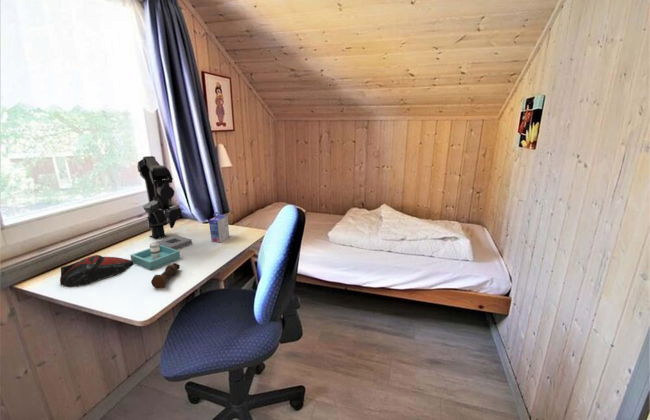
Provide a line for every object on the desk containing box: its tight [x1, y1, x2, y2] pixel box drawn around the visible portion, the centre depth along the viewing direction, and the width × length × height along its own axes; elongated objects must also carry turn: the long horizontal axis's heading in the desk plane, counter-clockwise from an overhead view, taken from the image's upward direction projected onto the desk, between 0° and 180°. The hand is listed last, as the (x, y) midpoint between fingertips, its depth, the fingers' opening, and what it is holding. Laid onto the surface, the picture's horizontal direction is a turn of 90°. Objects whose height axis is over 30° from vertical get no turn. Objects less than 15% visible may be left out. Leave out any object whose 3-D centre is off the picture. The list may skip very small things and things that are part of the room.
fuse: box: [148, 241, 161, 260], centre depth 139 cm, size 4×4×7 cm
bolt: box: [150, 262, 181, 290], centre depth 124 cm, size 6×5×15 cm
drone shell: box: [59, 254, 134, 288], centre depth 126 cm, size 21×20×8 cm
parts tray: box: [129, 245, 182, 271], centre depth 139 cm, size 14×14×4 cm
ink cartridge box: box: [208, 211, 230, 244], centre depth 164 cm, size 10×6×14 cm, turn 167°
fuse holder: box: [156, 234, 193, 250], centre depth 156 cm, size 12×12×2 cm
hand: (165, 225), depth 149 cm, fingers open, 9 cm apart
